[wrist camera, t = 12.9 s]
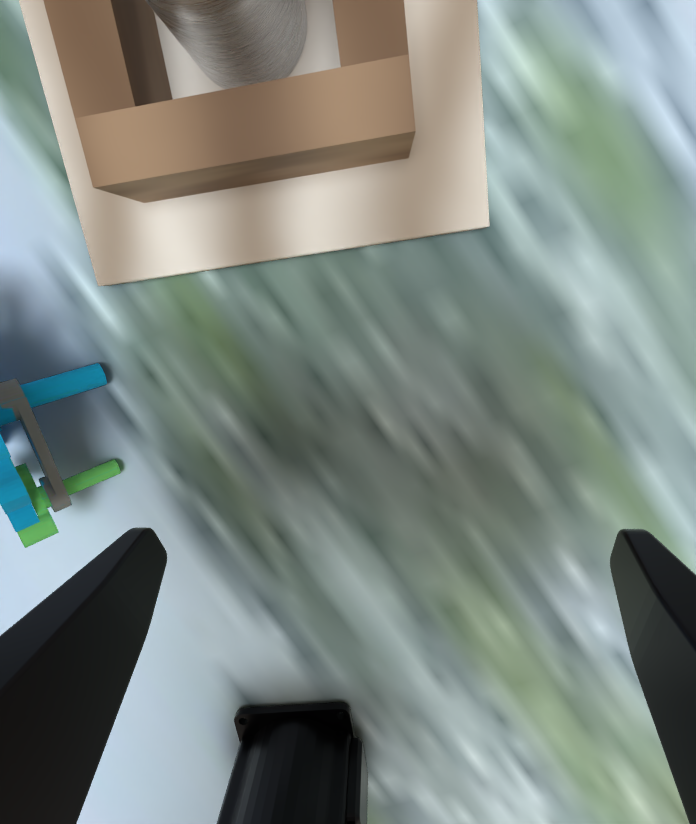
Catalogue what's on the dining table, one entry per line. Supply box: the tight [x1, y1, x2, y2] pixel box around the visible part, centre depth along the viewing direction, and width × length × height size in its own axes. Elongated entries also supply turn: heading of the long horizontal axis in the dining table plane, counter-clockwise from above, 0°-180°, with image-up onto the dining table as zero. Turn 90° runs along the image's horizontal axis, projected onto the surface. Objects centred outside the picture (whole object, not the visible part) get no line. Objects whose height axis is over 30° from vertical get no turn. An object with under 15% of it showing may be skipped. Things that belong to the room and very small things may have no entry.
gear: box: [0, 363, 121, 548], centre depth 20 cm, size 11×6×10 cm
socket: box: [19, 0, 489, 286], centre depth 15 cm, size 16×16×4 cm
